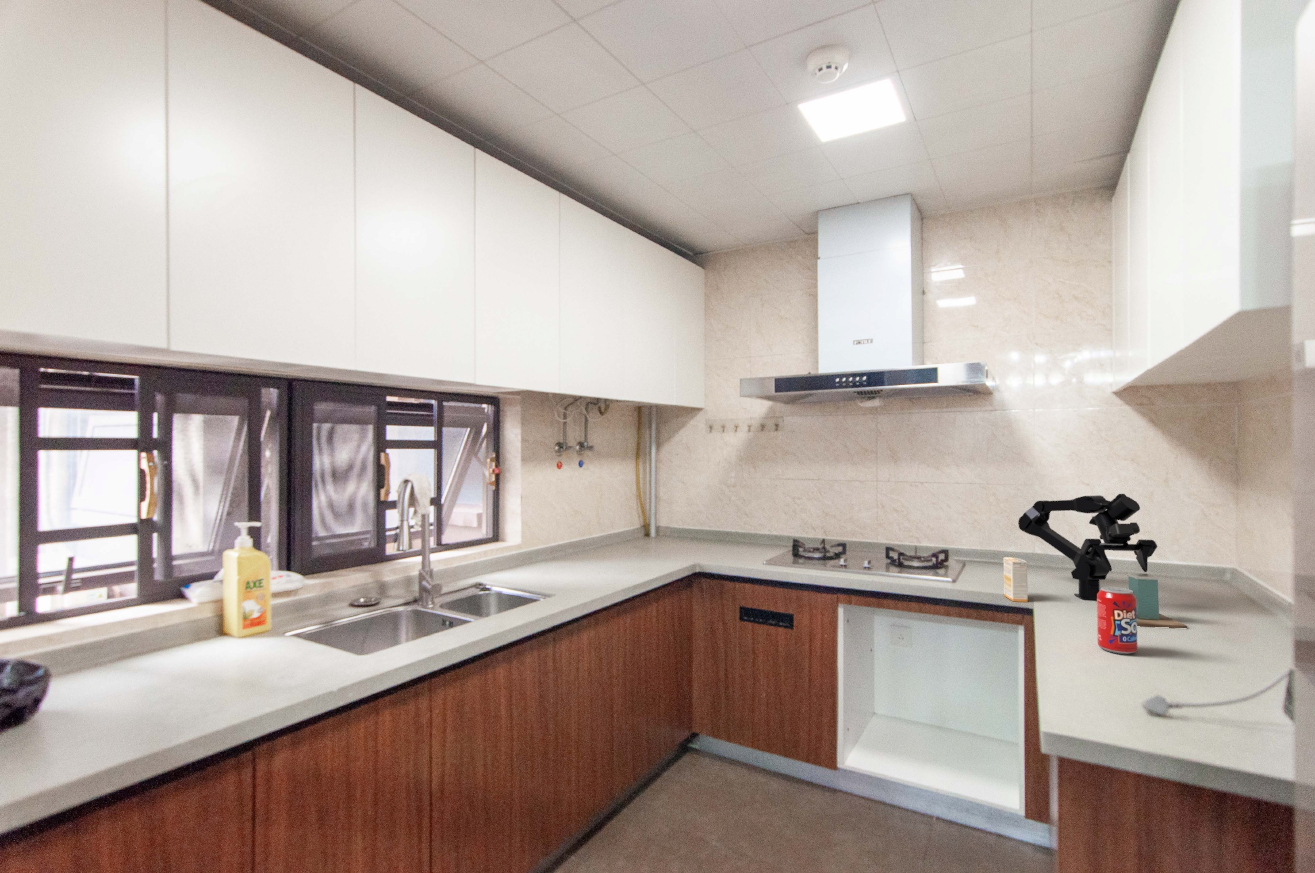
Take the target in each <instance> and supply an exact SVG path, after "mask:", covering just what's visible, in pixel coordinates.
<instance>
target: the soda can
mask: <svg viewBox="0 0 1315 873" xmlns="http://www.w3.org/2000/svg"><path fill="white" fill-rule="evenodd" d="M1096 612H1097V614H1096V618H1097V620H1096V621H1097V622H1096V628H1097V629H1096V632H1097V645H1098V647H1100V648H1101V649H1102V650H1104V651H1106V652H1109V653H1112V652H1113V653H1112V654H1117V653H1118V655H1130V654H1134V653H1136V652H1137V651H1138V627H1137V598H1136V597H1135V596H1134V594H1133V591H1132V590H1129V588H1125V587H1124V588H1123V587H1118V586H1101V587H1100V591H1099V592H1098V593H1097V600H1096Z"/></svg>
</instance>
